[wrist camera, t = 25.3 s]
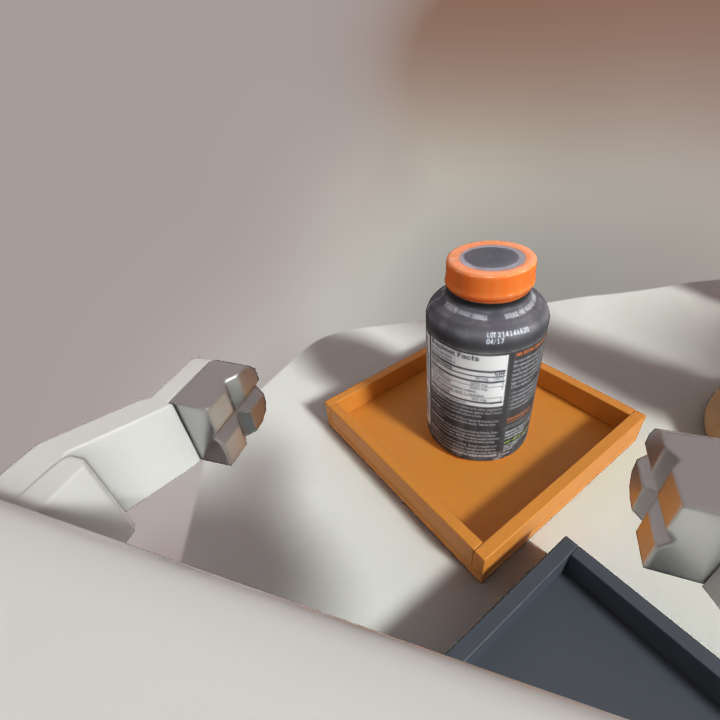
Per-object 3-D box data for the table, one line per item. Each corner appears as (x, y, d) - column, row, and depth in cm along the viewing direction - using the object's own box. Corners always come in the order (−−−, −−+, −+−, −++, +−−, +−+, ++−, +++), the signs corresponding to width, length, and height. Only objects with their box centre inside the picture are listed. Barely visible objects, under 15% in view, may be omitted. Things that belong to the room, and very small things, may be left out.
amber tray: (328, 424, 28) (324, 401, 27) (466, 346, 33) (467, 324, 32) (481, 584, 19) (484, 560, 17) (635, 440, 24) (646, 415, 23)
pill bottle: (489, 384, 28) (508, 221, 22) (548, 444, 24) (596, 261, 17) (410, 410, 27) (404, 246, 20) (457, 479, 23) (469, 297, 16)
